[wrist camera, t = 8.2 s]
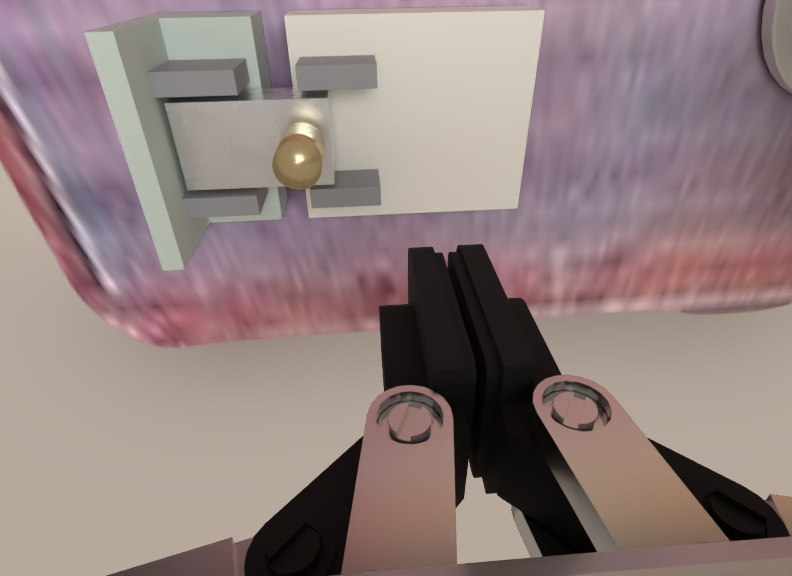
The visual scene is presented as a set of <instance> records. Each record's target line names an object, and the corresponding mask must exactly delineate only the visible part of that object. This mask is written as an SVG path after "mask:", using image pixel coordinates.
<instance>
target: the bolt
mask: <svg viewBox="0 0 792 576" xmlns="http://www.w3.org/2000/svg"><path fill="white" fill-rule="evenodd" d="M164 104H165V108H166V112H167V115H168V119H169V123H170V126H171V130H172V134H173V138H174V141H175V145H176V149H177V152H178V156H179V160H180V164H181V167H182V171H183V175H184V179H185V182H186V186H187V190H188V191H189V190H212V189H236V188H260V187H284V186H286V187H288V188H290V189H294V190H304V189H308V188H310V187H312V186H313V185H331V184H335V173H336V162H335V150H334V138H333V126H332V114H331V102H330V91H329V90H310V91H298V88H297V87H287V88H254V89H243V90H242V91H241V92H240V93H239V94H238V95H228V96H195V97H172V98H171V99H169V100H168V101H167V102H165V103H164Z"/></svg>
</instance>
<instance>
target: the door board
mask: <svg viewBox="0 0 792 576" xmlns="http://www.w3.org/2000/svg"><path fill="white" fill-rule="evenodd" d="M544 13H545V10H542V9H538V8H534V7H530V6H477V7H428V8H379V9H330V10H290V11H289V12H288V13H287V14H285V15H284V20H285V28H286V36H287V44H288V52H289V60H290V68H291V76H292V84H293V87H297V88H298V91H310V90H329V91H330V102H331V114H332V126H333V138H334V150H335V162H336V173H335V184H331V185H313V186H312V187H310V188H308V189H306V197H307V205H308V213H309V218H319V217H341V216H363V215H384V214H406V213H428V212H450V211H471V210H493V209H515V208H517V207H518V200H519V193H520V186H521V178H522V171H523V164H524V157H525V150H526V142H527V135H528V128H529V121H530V114H531V106H532V99H533V92H534V85H535V78H536V70H537V63H538V56H539V49H540V42H541V34H542V27H543V20H544Z"/></svg>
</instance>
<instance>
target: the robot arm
mask: <svg viewBox="0 0 792 576" xmlns="http://www.w3.org/2000/svg"><path fill="white" fill-rule="evenodd" d="M761 37H762V45H763V53H764V58H765V60H766V63H767V65H768V68H769V71H770V73H771V74H772V76H773V77H774V78H775V80H776V81H777V82H778V84H779V85H780V86H781V87H782V88H784V89H785V90H786V91H788V92H789V93H791V94H792V0H766V1H765V5H764V9H763V18H762V32H761ZM379 314H380V334H381V352H382V368H383V383H384V392H383V393H382V394H380V395H379V396H377V398H376V399H375V400H374V401H373V402H372V404H371V405H370V408H369V411H368V414H367V418H366V424H365V430H364V436H362V437H361V438H360V439H359V440H358V441H357V442H356V443H355V444H354V445H352V446H351V447H350V448H349V449H348V450H347V451H346V452H345V453H343V454H342V455H341V456H340V457H339V458H338V459H337V460H336V461H335V462H333V463H332V464H331V465H330V466H329V467H328V468H327V469H326V470H324V471H323V472H322V473H321V474H320V475H319V476H318V477H317V478H316V479H315V480H313V481H312V482H311V483H310V484H309V485H308V486H307V487H306V488H304V489H303V490H302V491H301V492H300V493H299V494H298V495H297V496H296V497H294V498H293V499H292V500H291V501H290V502H289V503H288V504H287V505H285V506H284V507H283V508H282V509H281V510H280V511H279V512H278V513H277V514H275V515H274V516H273V517H272V518H271V519H270V520H269V521H268V522H266V523H265V524H264V526H263V527H262V528H261V529H260V530H259V531H258V532H257V534H256V535H255V536H254V537H253V538H249V539H246V540H243V541H240V542H236V543H234V541H233V538H232V537H231V538H228V539H225V540H221V541H218V542H215V543H212V544H209V545H205V546H202V547H199V548H195V549H192V550H189V551H186V552H182V553H179V554H176V555H173V556H169V557H166V558H163V559H159V560H156V561H153V562H150V563H146V564H143V565H140V566H136V567H133V568H130V569H127V570H124V571H120V572H117V573H114V574H110V575H107V576H792V497H788V496H780V495H773V494H770V495H769V496H768V498H767V499H766V500H763V499H762V498H761V497H759V496H758V495H757V494H755V493H753V492H752V491H750V490H748V489H747V488H745V487H744V486H742V485H740V484H738V483H736V482H734V481H732V480H730V479H728V478H726V477H724V476H722V475H720V474H718V473H716V472H714V471H712V470H710V469H708V468H706V467H704V466H702V465H700V464H698V463H696V462H694V461H692V460H690V459H689V458H687V457H684V456H683V455H680V454H679V453H676V452H674V451H673V450H671V449H669V448H667V447H665V446H663V445H661V444H659V443H657V442H655V441H653V440H651V439H649V438H646V436H645V435H644V434H643V432H642V431H641V430H640V429H639V427H638V426H637V425H636V424H635V422H634V421H633V420H632V419H631V417H630V416H629V415H628V414H627V413H626V411H625V410H624V409H623V408H622V406H621V405H620V404H619V403H618V401H617V400H616V399H615V398H614V397H613V396H612V395H611V394H610V393H609V392H608V391H607V390H606V389H605V388H603V387H602V386H600V385H598V384H597V383H595V382H594V381H591V380H588V379H585V378H583V377H579V376H572V375H561V373H560V371H559V369H558V367H557V365H556V363H555V361H554V359H553V357H552V355H551V353H550V351H549V349H548V347H547V345H546V343H545V341H544V339H543V337H542V335H541V333H540V331H539V329H538V327H537V325H536V323H535V321H534V319H533V317H532V315H531V313H530V311H529V309H528V307H527V305H526V303H525V302H524V300H523V299H522V298H507V296H506V294H505V292H504V290H503V287H502V285H501V283H500V281H499V279H498V276H497V274H496V272H495V270H494V268H493V265H492V263H491V261H490V259H489V257H488V254H487V252H486V250H485V248H484V246H483V244H476V245H458V246H457V250H456V252H449V254H448V267H447V266H446V262H445V259H444V256H443V253H435V252H434V249H433V247H419V248H409V249H408V304H404V305H386V306H379ZM468 459H469V463H470V467H471V471H472V475H473V477H474V478H478V477H482V479H483V483H484V487H485V492H486V494H489V493H497V495H498V496H499V497H501V498H502V499H503V500H505V501H506V502H508V503H510V504H511V505H512V509H511V511H512V514H513V518H514V521H515V523H516V526H517V528H518V530H519V532H520V535H521V537H522V539H523V541H524V544H525V546H526V548H527V550H528V552H529V555H530V557H531V558H524V559H512V560H501V561H488V562H477V563H466V564H457V545H456V507H457V506H458V505H459V504H460V502H461V501H462V500H463V499H464V494H465V484H466V477H467V468H468Z"/></svg>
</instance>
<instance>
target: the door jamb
mask: <svg viewBox="0 0 792 576" xmlns="http://www.w3.org/2000/svg"><path fill="white" fill-rule="evenodd" d="M84 34H85V37H86V40H87V43H88V46H89V49H90V52H91V55H92V58H93V61H94V64H95V67H96V70H97V73H98V76H99V79H100V82H101V85H102V88H103V91H104V94H105V97H106V100H107V103H108V106H109V109H110V112H111V115H112V118H113V121H114V124H115V127H116V130H117V133H118V136H119V139H120V142H121V145H122V148H123V151H124V154H125V157H126V160H127V163H128V166H129V169H130V172H131V175H132V178H133V181H134V185H135V188H136V191H137V194H138V197H139V200H140V203H141V206H142V209H143V212H144V215H145V218H146V221H147V224H148V227H149V230H150V233H151V236H152V239H153V242H154V245H155V248H156V251H157V254H158V257H159V260H160V263H161V266H162V269H163V270H183V269H185V268H186V266H187V264H188V262H189V260H190V259H191V257H192V255H193V253H194V251H195V249H196V247H197V246H198V244H199V242H200V240H201V238H202V236H203V234H204V233H205V231H206V229H207V227H208V225H209V223H211V222H232V221H254V220H276V219H282V218H283V214H284V211H285V207H286V203H287V199H288V195H287V189H286V186H284V187H260V188H236V189H212V190H189V191H188V190H187V186H186V182H185V179H184V175H183V171H182V167H181V164H180V160H179V156H178V152H177V149H176V145H175V141H174V138H173V134H172V130H171V126H170V123H169V119H168V115H167V112H166V108H165V104H164V103H165V102H167V101H168V100H169V99H171V98H172V97H195V96H228V95H238V94H239V93H240V92H241V91H242V90H243V89H254V88H272V87H271V80H270V73H269V66H268V60H267V53H266V46H265V39H264V32H263V26H262V19H261V12H260V11H232V12H184V13H156V14H152V15H148V16H144V17H140V18H136V19H133V20H129V21H125V22H121V23H117V24H113V25H109V26H105V27H102V28H98V29H94V30H90V31H86V32H84Z"/></svg>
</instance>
